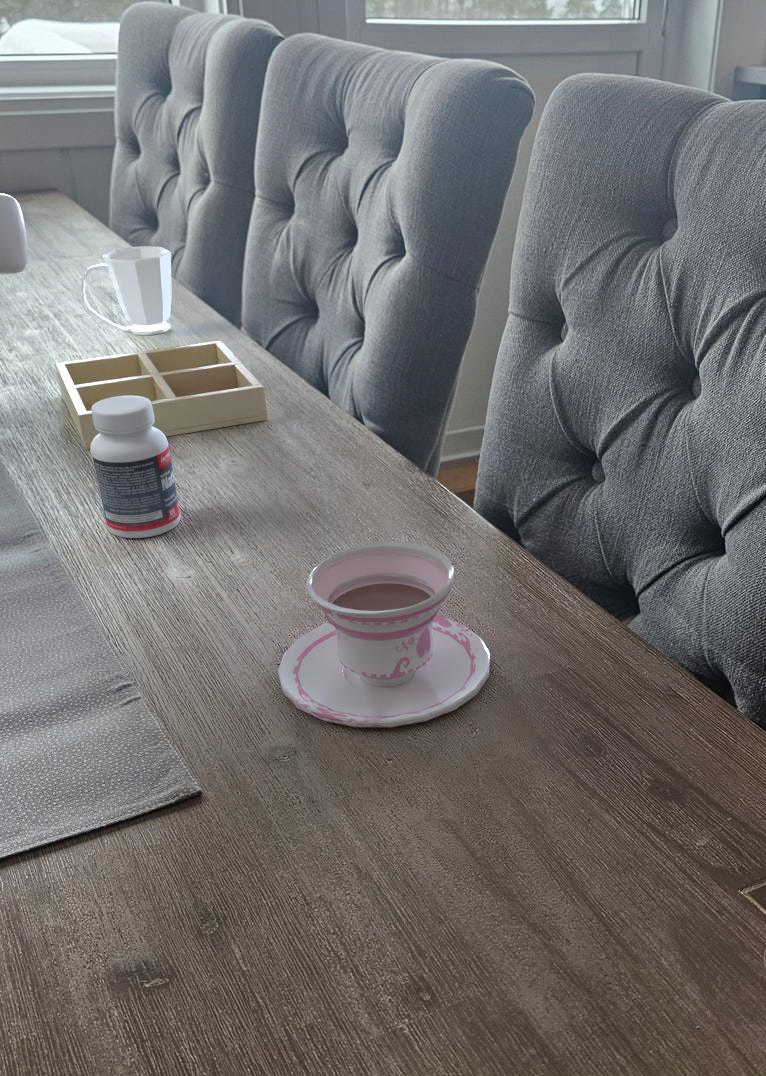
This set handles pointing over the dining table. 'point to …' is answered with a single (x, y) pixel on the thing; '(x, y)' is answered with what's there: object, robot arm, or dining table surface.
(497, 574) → the dining table surface
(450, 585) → the teacup
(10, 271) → the robot arm
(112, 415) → the pill bottle
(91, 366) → the divided tray
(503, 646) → the dining table surface
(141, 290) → the cup
